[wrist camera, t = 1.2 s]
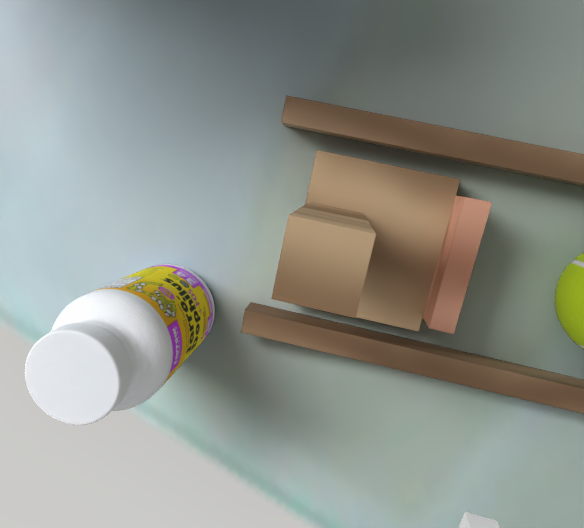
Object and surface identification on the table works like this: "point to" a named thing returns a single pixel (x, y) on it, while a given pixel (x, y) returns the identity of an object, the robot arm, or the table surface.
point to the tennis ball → (572, 300)
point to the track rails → (404, 350)
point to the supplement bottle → (119, 344)
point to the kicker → (381, 244)
